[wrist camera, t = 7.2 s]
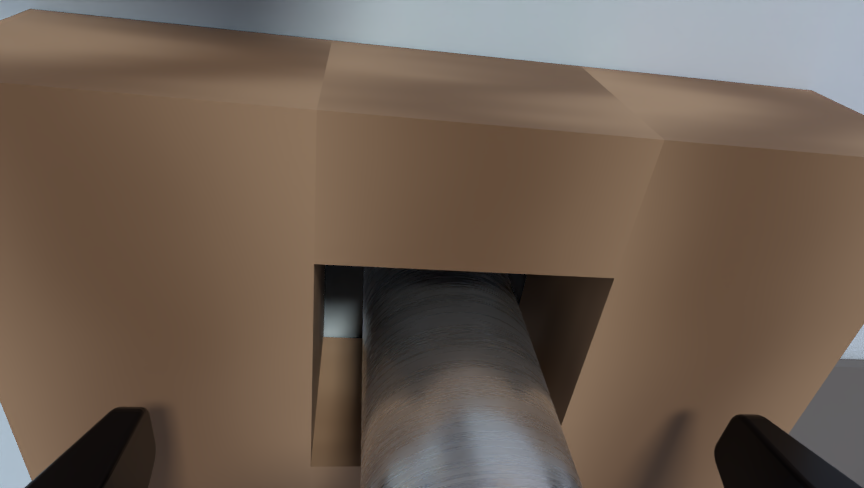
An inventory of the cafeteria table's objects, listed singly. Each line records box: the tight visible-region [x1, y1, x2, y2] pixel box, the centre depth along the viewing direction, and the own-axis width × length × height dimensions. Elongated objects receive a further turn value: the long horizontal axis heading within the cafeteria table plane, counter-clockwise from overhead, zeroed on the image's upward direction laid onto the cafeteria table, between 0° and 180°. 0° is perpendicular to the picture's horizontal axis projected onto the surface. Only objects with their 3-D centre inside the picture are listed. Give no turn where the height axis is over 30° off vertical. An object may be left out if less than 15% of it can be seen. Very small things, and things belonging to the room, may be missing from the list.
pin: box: [361, 266, 583, 488], centre depth 8 cm, size 4×4×10 cm
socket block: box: [0, 9, 864, 488], centre depth 11 cm, size 14×9×4 cm, turn 83°
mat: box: [789, 359, 864, 488], centre depth 17 cm, size 8×8×1 cm
